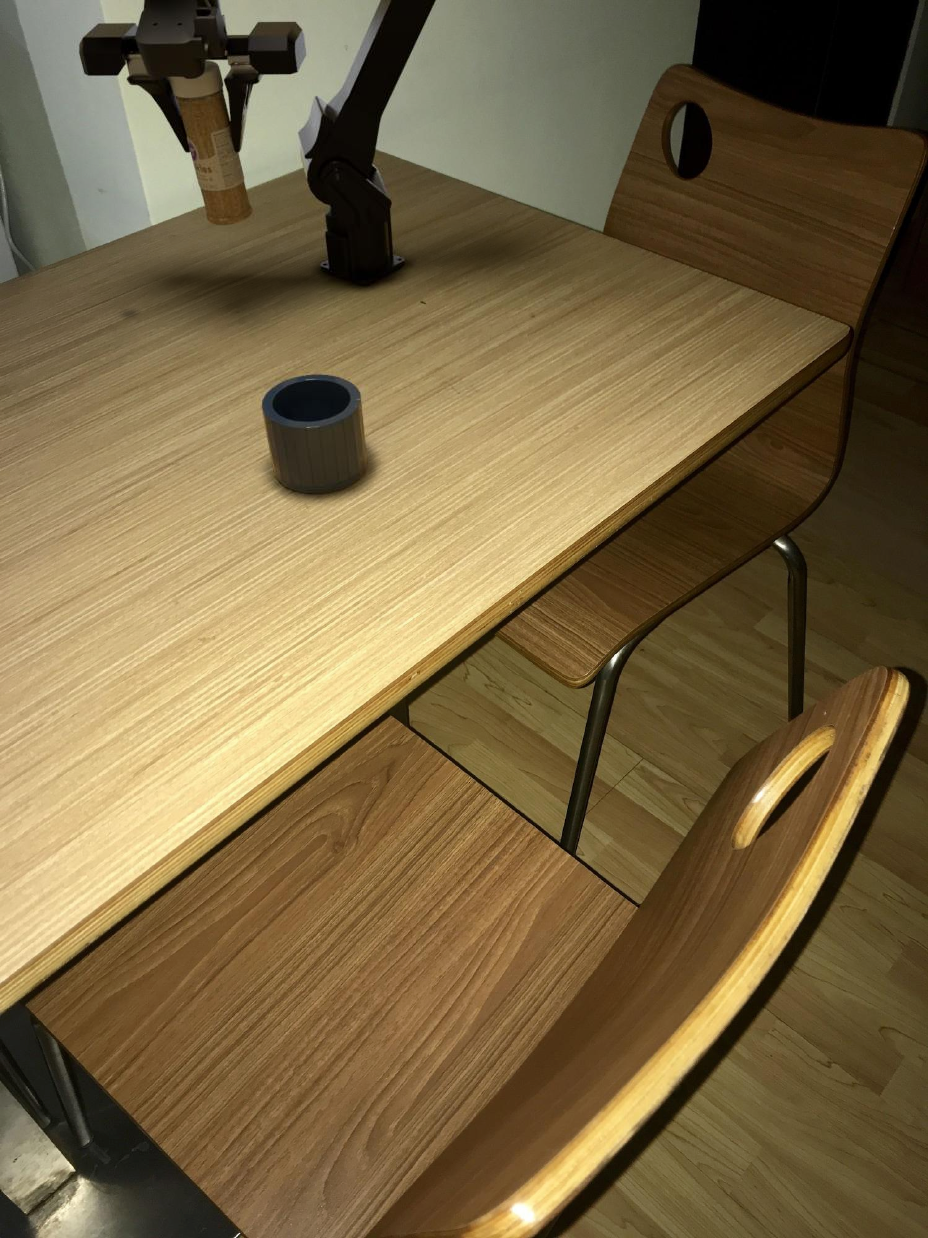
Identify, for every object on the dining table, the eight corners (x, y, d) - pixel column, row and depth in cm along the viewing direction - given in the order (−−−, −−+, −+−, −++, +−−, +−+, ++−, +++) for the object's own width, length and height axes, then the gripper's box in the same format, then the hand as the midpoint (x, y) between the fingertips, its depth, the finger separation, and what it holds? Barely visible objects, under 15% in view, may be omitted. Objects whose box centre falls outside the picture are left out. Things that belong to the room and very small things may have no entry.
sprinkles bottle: (198, 220, 97) (156, 70, 88) (234, 204, 99) (197, 55, 90) (227, 230, 95) (187, 77, 85) (263, 213, 97) (228, 61, 88)
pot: (319, 428, 82) (310, 363, 78) (386, 460, 79) (381, 394, 75) (254, 470, 78) (241, 405, 74) (321, 506, 75) (312, 439, 71)
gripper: (31, -22, 76) (88, 184, 87) (271, -25, 76) (298, 184, 87) (77, -54, 84) (124, 139, 95) (294, -57, 84) (317, 138, 95)
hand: (213, 150), depth 93 cm, fingers closed on sprinkles bottle, 4 cm apart
